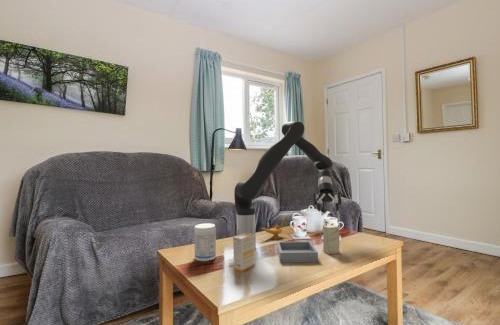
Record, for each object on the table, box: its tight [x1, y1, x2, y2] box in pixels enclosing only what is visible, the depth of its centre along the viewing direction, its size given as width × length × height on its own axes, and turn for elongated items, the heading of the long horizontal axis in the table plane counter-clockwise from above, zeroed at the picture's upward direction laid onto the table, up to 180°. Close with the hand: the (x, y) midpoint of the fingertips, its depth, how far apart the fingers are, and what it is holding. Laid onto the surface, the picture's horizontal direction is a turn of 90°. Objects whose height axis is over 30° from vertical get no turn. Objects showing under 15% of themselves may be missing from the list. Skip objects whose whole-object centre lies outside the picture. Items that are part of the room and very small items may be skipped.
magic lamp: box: [258, 216, 287, 239], centre depth 153 cm, size 7×18×11 cm, turn 117°
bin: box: [276, 240, 319, 263], centre depth 122 cm, size 16×16×4 cm
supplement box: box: [232, 233, 256, 272], centre depth 110 cm, size 8×5×13 cm, turn 141°
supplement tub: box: [193, 222, 217, 262], centre depth 121 cm, size 10×10×15 cm
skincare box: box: [322, 224, 341, 255], centre depth 126 cm, size 6×4×12 cm
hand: (328, 210), depth 138 cm, fingers open, 8 cm apart
